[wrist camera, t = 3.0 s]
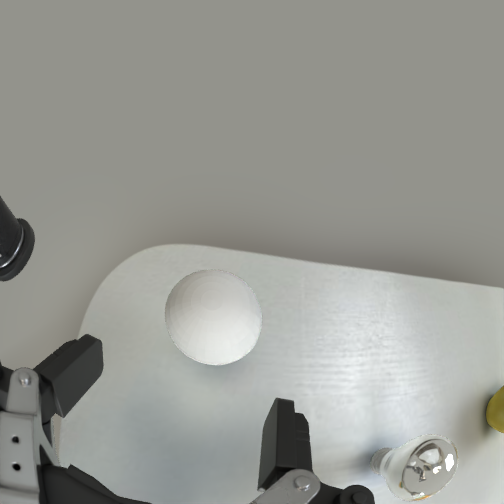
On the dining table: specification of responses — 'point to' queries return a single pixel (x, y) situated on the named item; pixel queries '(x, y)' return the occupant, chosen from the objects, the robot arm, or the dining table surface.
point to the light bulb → (417, 467)
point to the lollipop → (213, 317)
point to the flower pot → (496, 411)
